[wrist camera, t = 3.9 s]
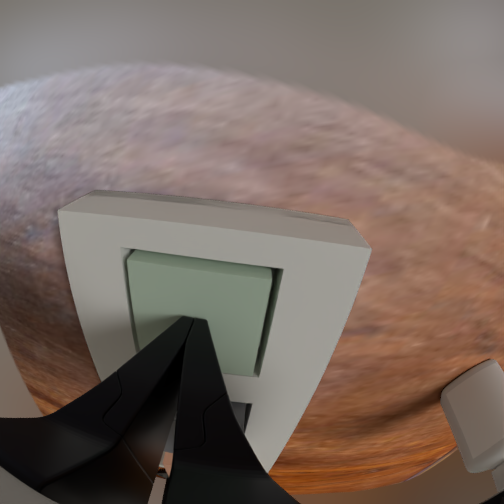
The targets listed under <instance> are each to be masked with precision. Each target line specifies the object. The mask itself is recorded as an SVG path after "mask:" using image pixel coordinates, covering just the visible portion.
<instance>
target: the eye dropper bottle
mask: <svg viewBox="0 0 504 504" xmlns="http://www.w3.org/2000/svg"><path fill="white" fill-rule="evenodd" d="M440 404H441V406H442V408H443V411H444V413H445V416H446V418H447V420H448V423H449V425H450V428H451V430H452V433H453V435H454V438H455V440H456V443H457V446H458V448H459V451H460V453H461V456H462V459H463V462H464V464H465V467H466V469H467V470H468V471H469V472H471V473H478V472H482V471H485V470H488V469H495V470H494V471H493V472H492V476H493V479H494V482H495V486H496V489H497V491H498V492H500V491H502V490H503V489H504V372H503V370H502V369H501V367H500V366H499V364H498V363H497V361H496V360H494V359H490V360H487V361H485V362H482V363H480V364H478V365H477V366H475V367H473V368H471V369H470V370H468V371H467V372H465V373H464V374H462V375H461V376H459V377H458V378H457V379H455V380H454V381H453V382H451V383H450V384H449V385H448V386H446V387H445V388H444V390H443V391H442V393H441V400H440Z"/></svg>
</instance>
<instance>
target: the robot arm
mask: <svg viewBox="0 0 504 504" xmlns="http://www.w3.org/2000/svg"><path fill="white" fill-rule="evenodd" d="M176 411H177V414H176ZM175 414H176V424H175V434H174V446H173V458H172V466H171V471H170V475H169V476H168V474H167V472H166V471H158V467H159V464H160V461H161V458H162V455H163V451H164V448H165V445H166V442H167V439H168V436H169V432H170V429H171V426H172V423H173V420H174V417H175ZM156 474H157V475H159V476H162V477H164V478H166V479H167V480H166V485H165V489H164V494H163V500H162V504H300V503H299V502H298V501H296V500H295V499H294V498H293V497H292V496H291V495H289V494H288V493H287V492H286V491H285V490H284V489H283V488H281V487H280V486H279V485H278V484H277V483H276V482H275V481H274V480H273V479H272V478H271V477H270V476H269V475H268V473H267V472H266V471H265V469H264V468H263V466H262V465H261V463H260V461H259V460H258V458H257V456H256V454H255V453H254V451H253V449H252V447H251V445H250V444H249V442H248V440H247V438H246V436H245V434H244V433H243V431H242V429H241V426H240V424H239V422H238V420H237V418H236V415H235V413H234V410H233V407H232V404H231V401H230V398H229V395H228V392H227V389H226V385H225V382H224V379H223V375H222V372H221V368H220V365H219V361H218V358H217V354H216V351H215V347H214V343H213V340H212V336H211V332H210V328H209V325H208V321H207V320H206V319H201V318H195V319H194V318H193V317H188V316H182V317H180V318H179V319H178V320H177V321H175V322H174V323H173V324H172V325H171V326H169V327H168V328H167V329H166V330H165V331H163V332H162V333H161V334H160V335H159V336H157V337H156V338H155V339H154V340H152V341H151V342H150V343H149V344H148V345H146V346H145V347H144V348H143V349H142V350H140V351H139V352H138V353H137V354H135V355H134V356H133V357H132V358H131V359H129V360H128V361H127V362H126V363H125V364H123V365H122V366H121V367H120V368H118V369H117V372H116V371H115V372H113V373H112V374H111V375H110V376H109V377H107V378H106V379H105V380H103V381H102V382H101V383H99V384H98V385H97V386H95V387H94V388H92V389H91V390H89V391H88V392H86V393H85V394H83V395H82V396H80V397H79V398H77V399H75V400H74V401H72V402H71V403H69V404H67V405H66V406H64V407H62V408H61V409H59V410H57V411H56V412H54V413H52V414H49V415H47V416H43V417H38V418H0V504H148V501H149V497H150V494H151V491H152V487H153V483H154V480H155V477H156ZM479 504H504V489H503V490H502V491H500V492H498V493H497V494H495V495H493V496H492V497H490V498H488V499H487V500H485V501H483V502H481V503H479Z"/></svg>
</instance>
